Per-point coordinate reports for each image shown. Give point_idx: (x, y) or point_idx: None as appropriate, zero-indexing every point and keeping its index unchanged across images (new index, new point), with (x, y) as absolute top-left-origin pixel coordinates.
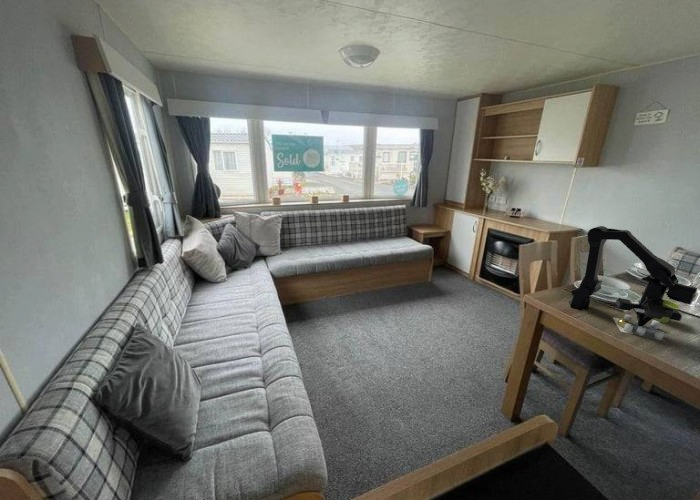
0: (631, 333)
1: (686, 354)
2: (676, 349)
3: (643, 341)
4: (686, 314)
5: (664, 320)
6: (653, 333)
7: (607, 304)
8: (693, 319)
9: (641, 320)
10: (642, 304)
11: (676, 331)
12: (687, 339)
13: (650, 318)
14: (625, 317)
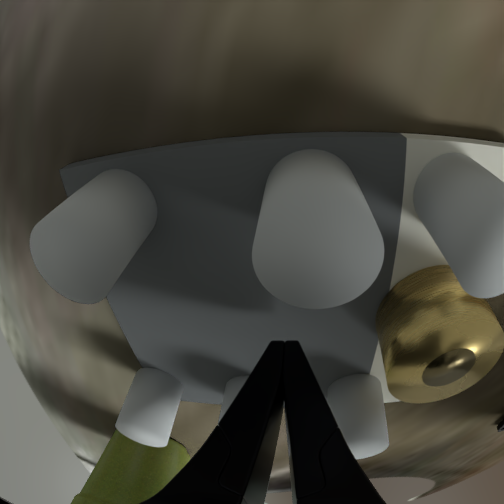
0: (421, 148)
1: None
2: (10, 98)
3: (294, 23)
4: (91, 460)
5: (120, 443)
6: (156, 296)
7: None
8: (69, 445)
9: (308, 431)
10: None
11: (66, 380)
12: (12, 319)
13: (188, 497)
14: (386, 423)
